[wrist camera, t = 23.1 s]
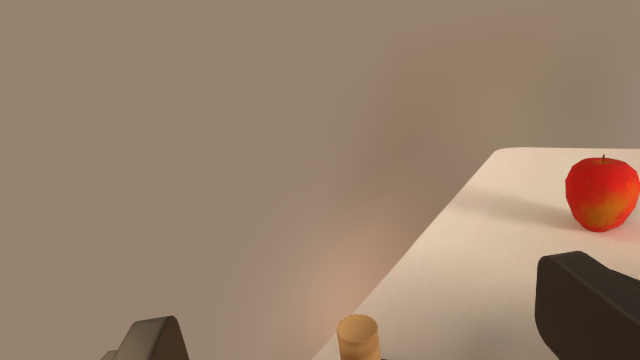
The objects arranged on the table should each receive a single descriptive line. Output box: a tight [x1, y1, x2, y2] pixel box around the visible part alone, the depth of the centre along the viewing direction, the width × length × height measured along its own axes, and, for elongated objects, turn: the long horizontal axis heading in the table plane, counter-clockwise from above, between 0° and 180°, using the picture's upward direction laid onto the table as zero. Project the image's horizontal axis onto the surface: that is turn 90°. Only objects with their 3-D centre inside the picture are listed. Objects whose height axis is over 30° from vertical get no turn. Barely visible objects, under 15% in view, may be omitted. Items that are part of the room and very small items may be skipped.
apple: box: [565, 154, 640, 232], centre depth 58 cm, size 9×9×12 cm
